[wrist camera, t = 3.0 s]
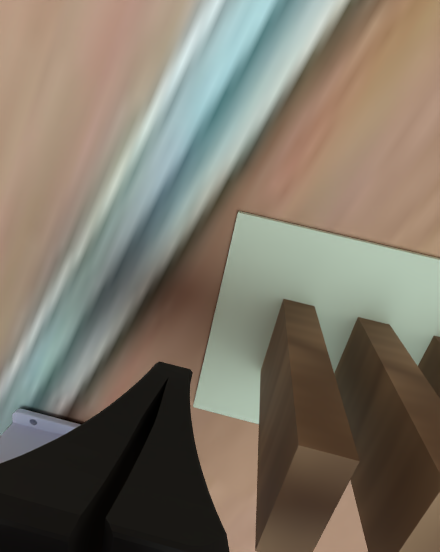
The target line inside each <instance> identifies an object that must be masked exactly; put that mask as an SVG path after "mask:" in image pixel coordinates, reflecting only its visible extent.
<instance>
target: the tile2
mask: <svg viewBox="0 0 440 552" xmlns="http://www.w3.org/2000/svg"><path fill="white" fill-rule="evenodd" d="M334 375H335V378H336V381H337V385H338V388H339V392H340V395H341V399H342V402H343V406H344V409H345V412H346V416H347V419H348V423H349V426H350V430H351V433H352V436H353V440H354V443H355V447H356V450H357V454H358V457H359V461H360V462H359V464H358V466H357V468H356V469H355V471H354V473H353V475H352V477H351V484H352V488H353V492H354V496H355V500H356V504H357V508H358V512H359V516H360V520H361V524H362V528H363V532H364V536H365V540H366V544H367V548H368V552H440V398H439V397H438V395H437V394H436V392H435V391H434V389H433V388H432V386H431V385H430V383H429V382H428V381H427V379H426V378H425V376H424V375H423V373H422V372H421V370H420V369H419V367H418V366H417V364H416V363H415V361H414V360H413V358H412V357H411V355H410V354H409V352H408V351H407V349H406V348H405V346H404V345H403V344H402V342H401V341H400V339H399V338H398V336H397V335H396V333H395V332H394V330H393V329H392V327H391V326H390V325H389V324H385V323H381V322H377V321H373V320H369V319H365V318H361V317H358V318H357V320H356V323H355V325H354V327H353V330H352V332H351V335H350V337H349V339H348V342H347V344H346V346H345V349H344V351H343V354H342V356H341V358H340V361H339V363H338V366H337V368H336V370H335V373H334Z"/></svg>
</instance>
